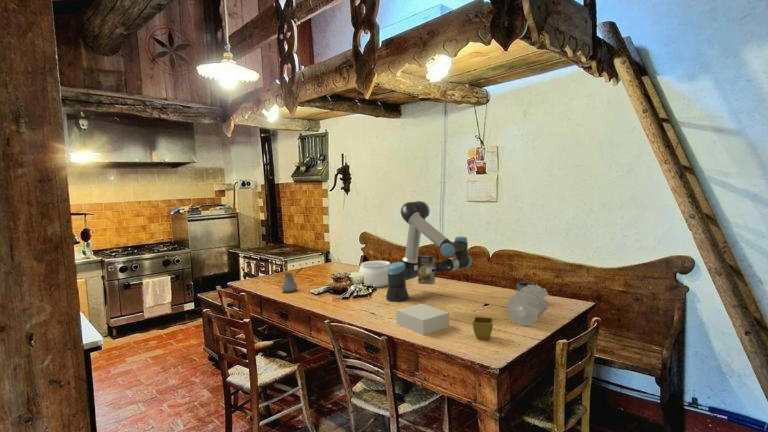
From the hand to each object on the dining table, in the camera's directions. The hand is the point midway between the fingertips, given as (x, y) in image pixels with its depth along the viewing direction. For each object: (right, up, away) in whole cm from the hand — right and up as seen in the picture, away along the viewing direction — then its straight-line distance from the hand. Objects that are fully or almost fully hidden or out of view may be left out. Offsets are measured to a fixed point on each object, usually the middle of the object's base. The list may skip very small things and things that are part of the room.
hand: (420, 269), depth 231 cm
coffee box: (+4, -8, +3) cm, 10 cm away
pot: (-27, -22, +78) cm, 85 cm away
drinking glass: (+66, -23, +16) cm, 72 cm away
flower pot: (+27, -28, -38) cm, 54 cm away
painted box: (0, -28, -17) cm, 33 cm away
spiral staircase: (+56, -26, -16) cm, 64 cm away
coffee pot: (-88, -25, +71) cm, 116 cm away
